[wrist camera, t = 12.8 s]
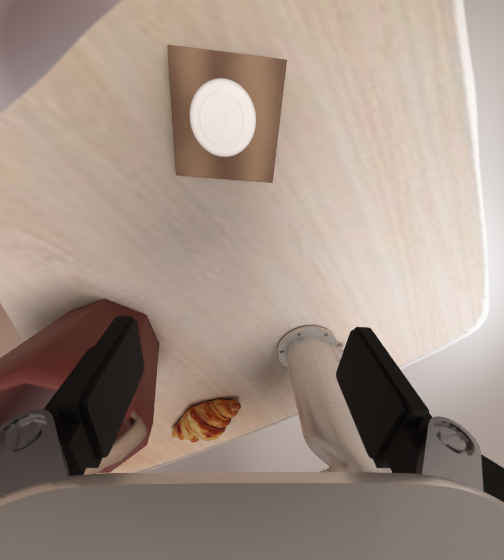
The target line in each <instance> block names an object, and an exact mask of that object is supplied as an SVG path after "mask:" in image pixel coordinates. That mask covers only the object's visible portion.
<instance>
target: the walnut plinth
mask: <svg viewBox="0 0 504 560" xmlns="http://www.w3.org/2000/svg"><path fill="white" fill-rule="evenodd" d="M167 47H168V62H169V77H170V92H171V107H172V122H173V137H174V152H175V167H176V175H179V176H192V177H205V178H218V179H230V180H243V181H256V182H269V183H272V182H273V174H274V165H275V157H276V148H277V140H278V131H279V123H280V114H281V106H282V97H283V89H284V80H285V72H286V63H287V60H284V59H276V58H268V57H260V56H252V55H244V54H236V53H228V52H220V51H213V50H205V49H197V48H189V47H181V46H173V45H167ZM218 78H224V79H229V80H232V81H234V82H236V83H237V84H239V85H240V86H241V87H243V88H244V89H245V91H246V92H247V93H248V95H249V96H250V98H251V100H252V102H253V105H254V108H255V113H256V127H255V132H254V135H253V137H252V140H251V141H250V143H249V144H248V146H247V147H246V148H245V149H244V150H243V151H241V152H240V153H238V154H236V155H233V156H230V157H221V156H216V155H214V154H211V153H210V152H208V151H207V150H205V149H204V148H203V147H202V146H201V145H200V144H199V142H198V141H197V140H196V138H195V136H194V134H193V131H192V128H191V124H190V106H191V102H192V100H193V97H194V95H195V93H196V92H197V90H198V89H199V88H200V87H201V86H202V85H203V84H205V83H206V82H208V81H210V80H213V79H218Z"/></svg>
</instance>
